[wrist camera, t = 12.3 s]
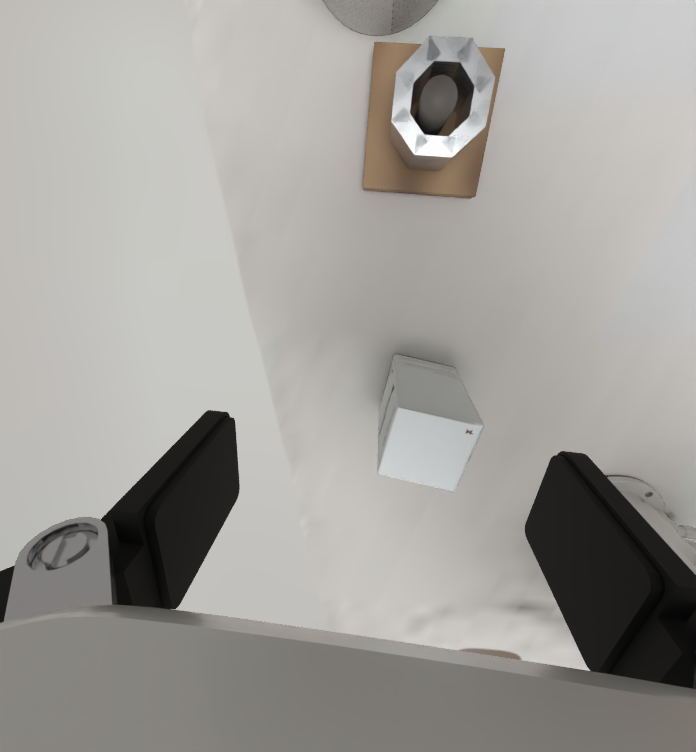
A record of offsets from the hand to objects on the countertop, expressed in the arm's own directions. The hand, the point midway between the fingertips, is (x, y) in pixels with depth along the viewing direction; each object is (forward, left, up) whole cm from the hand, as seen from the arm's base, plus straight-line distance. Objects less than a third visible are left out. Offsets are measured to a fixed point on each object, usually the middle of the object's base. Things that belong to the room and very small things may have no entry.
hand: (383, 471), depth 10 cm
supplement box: (-5, +10, -28) cm, 31 cm away
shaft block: (-2, -15, -28) cm, 32 cm away
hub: (-2, -15, -26) cm, 30 cm away
